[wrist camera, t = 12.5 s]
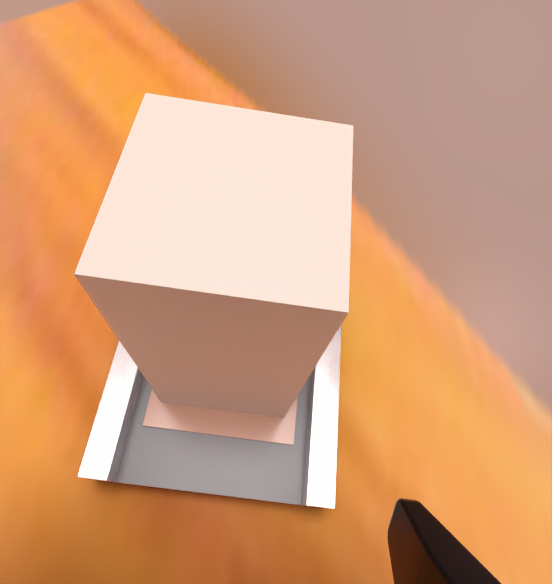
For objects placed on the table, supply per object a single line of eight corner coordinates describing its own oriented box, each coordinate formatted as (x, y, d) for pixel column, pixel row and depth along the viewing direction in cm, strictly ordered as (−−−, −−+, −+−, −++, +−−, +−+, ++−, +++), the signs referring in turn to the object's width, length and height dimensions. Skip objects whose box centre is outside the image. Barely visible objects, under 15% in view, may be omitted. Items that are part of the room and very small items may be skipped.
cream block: (283, 418, 20) (348, 312, 9) (161, 402, 20) (74, 274, 9) (294, 308, 23) (353, 125, 12) (187, 293, 23) (145, 92, 12)
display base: (161, 253, 26) (153, 224, 23) (333, 278, 26) (345, 253, 23) (96, 480, 20) (74, 476, 17) (322, 508, 20) (337, 508, 17)
